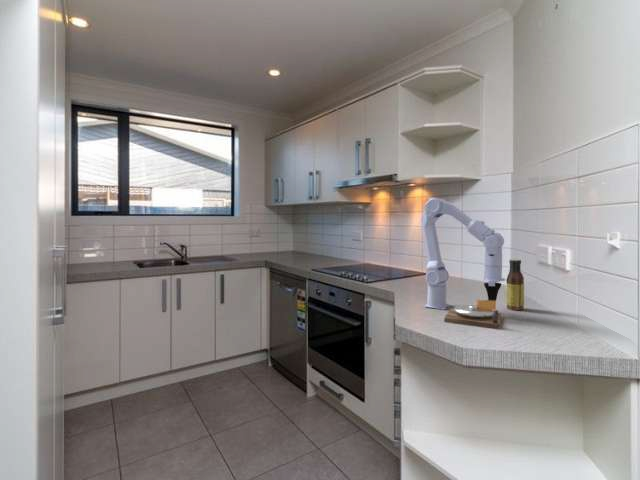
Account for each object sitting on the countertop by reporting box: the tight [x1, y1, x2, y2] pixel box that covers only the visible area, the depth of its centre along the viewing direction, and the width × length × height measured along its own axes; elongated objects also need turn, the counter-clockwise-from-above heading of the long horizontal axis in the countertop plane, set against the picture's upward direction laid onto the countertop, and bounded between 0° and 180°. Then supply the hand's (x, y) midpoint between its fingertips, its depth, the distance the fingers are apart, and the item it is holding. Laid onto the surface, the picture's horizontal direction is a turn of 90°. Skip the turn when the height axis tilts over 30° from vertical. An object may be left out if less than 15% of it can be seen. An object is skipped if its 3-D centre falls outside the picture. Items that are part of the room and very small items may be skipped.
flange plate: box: [453, 299, 497, 317], centre depth 125 cm, size 13×13×4 cm
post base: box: [443, 307, 502, 330], centre depth 125 cm, size 16×17×6 cm
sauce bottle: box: [505, 258, 525, 311], centre depth 140 cm, size 7×6×20 cm
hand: (492, 302), depth 130 cm, fingers closed
